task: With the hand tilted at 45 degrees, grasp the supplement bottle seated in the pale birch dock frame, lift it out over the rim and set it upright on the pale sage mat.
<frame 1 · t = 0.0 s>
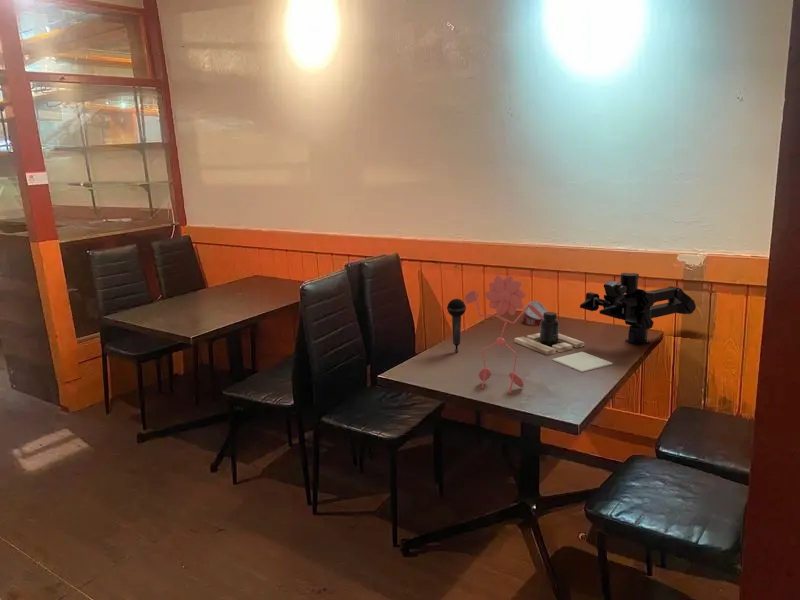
hand: (589, 309, 217), 17 cm above the table, tool horizontal, fingers open, 9 cm apart
canned food: (535, 323, 261), on the table
supplement bottle: (548, 344, 233), resting in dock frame
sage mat: (582, 362, 213), on the table
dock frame: (548, 344, 233), on the table
microphone: (456, 352, 227), on the table
figurine: (504, 384, 196), on the table
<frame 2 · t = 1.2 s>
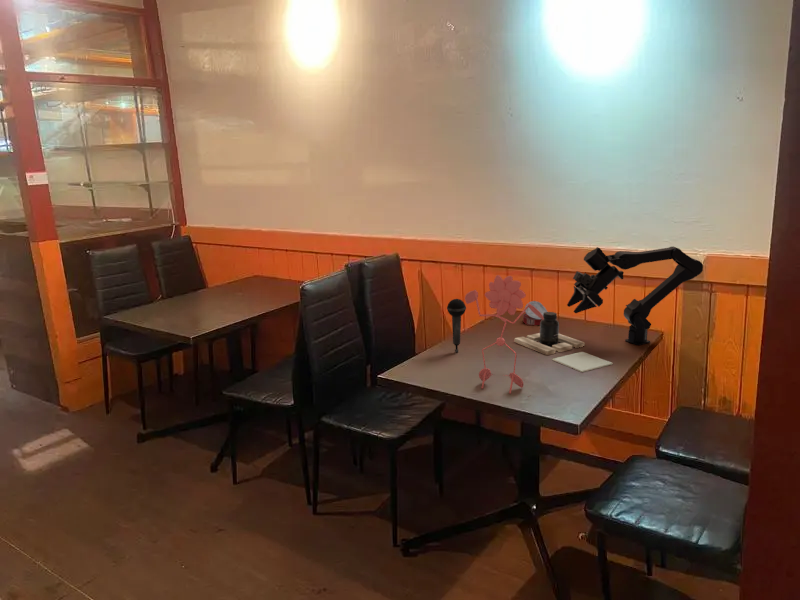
hand: (571, 309, 230), 13 cm above the table, tool tilted 45°, fingers open, 9 cm apart
nothing on the table moved.
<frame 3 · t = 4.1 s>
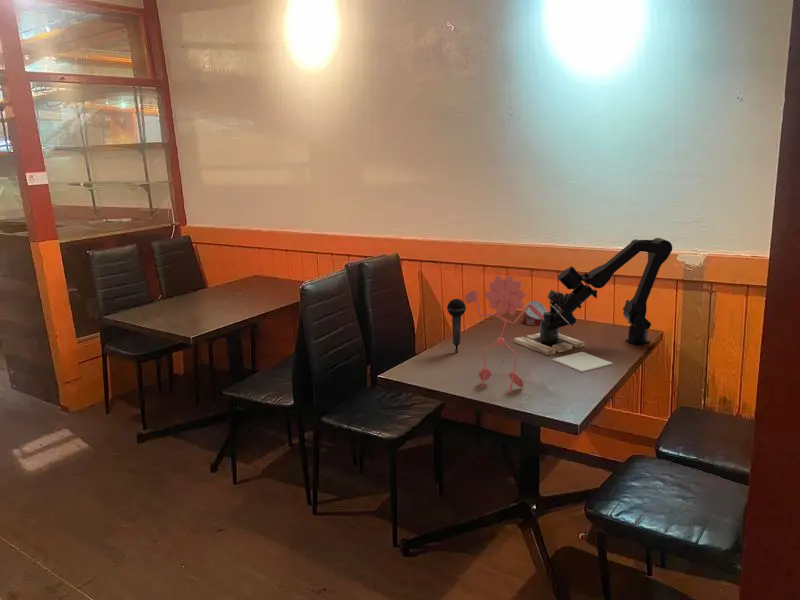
hand: (545, 327, 231), 7 cm above the table, tool tilted 45°, fingers closed on supplement bottle, 7 cm apart
supplement bottle: (548, 344, 233), resting in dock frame, touching gripper
everything else where it was.
when the fingers open (8 cm above the table, at t = 9.2 s): supplement bottle stays where it is, resting on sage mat.
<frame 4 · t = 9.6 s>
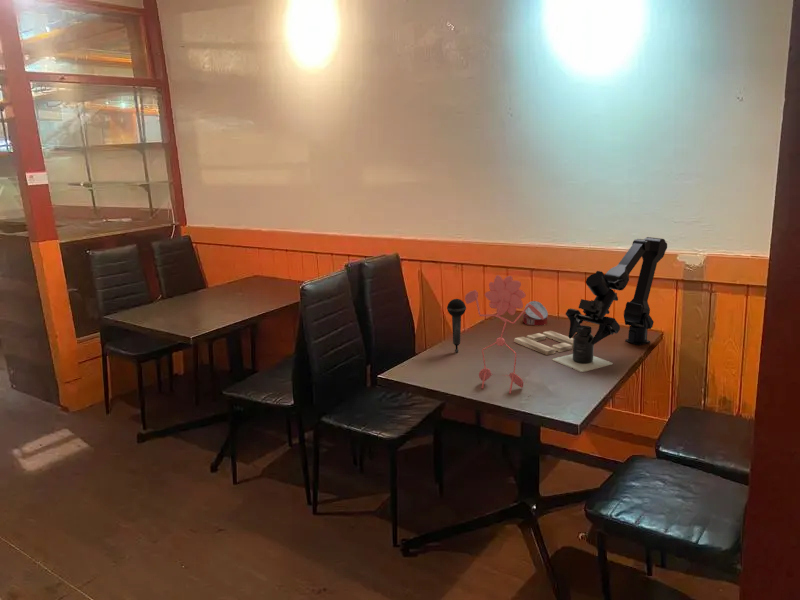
hand: (580, 340, 210), 8 cm above the table, tool tilted 45°, fingers open, 9 cm apart
supplement bottle: (582, 361, 213), resting on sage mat
everything else where it was.
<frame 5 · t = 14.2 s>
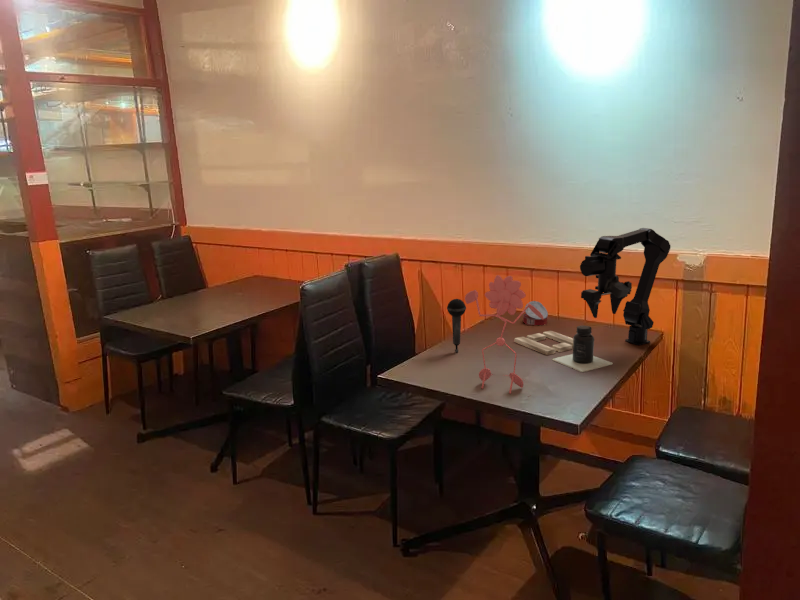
hand: (604, 315, 221), 13 cm above the table, tool pointing down, fingers open, 9 cm apart
nothing on the table moved.
at the end: supplement bottle inside the target area (0.2 cm from its centre), resting on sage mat; supplement bottle tilted 0°; the gripper is holding nothing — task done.
